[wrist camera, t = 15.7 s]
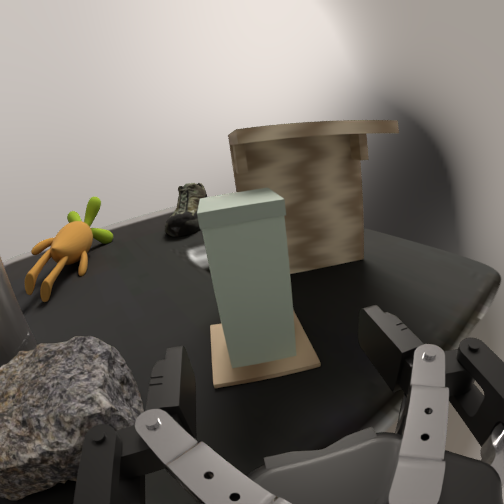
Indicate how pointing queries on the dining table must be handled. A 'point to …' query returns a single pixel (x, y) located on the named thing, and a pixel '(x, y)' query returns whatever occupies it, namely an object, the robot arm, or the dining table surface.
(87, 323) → the dining table surface
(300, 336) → the mat
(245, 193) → the tin
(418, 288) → the dining table surface
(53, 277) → the toy
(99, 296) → the dining table surface
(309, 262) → the shelf
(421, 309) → the dining table surface
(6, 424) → the rock
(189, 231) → the hiking shoe
